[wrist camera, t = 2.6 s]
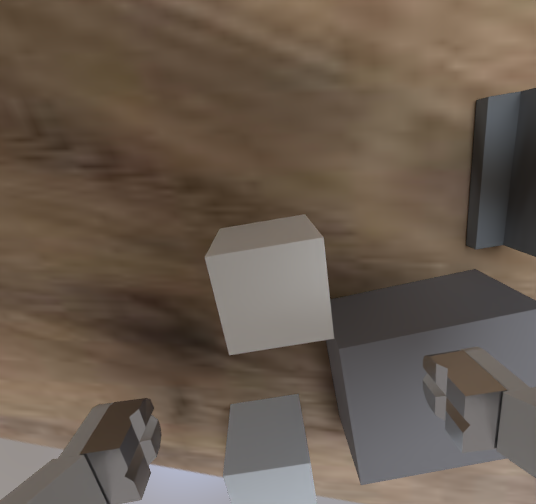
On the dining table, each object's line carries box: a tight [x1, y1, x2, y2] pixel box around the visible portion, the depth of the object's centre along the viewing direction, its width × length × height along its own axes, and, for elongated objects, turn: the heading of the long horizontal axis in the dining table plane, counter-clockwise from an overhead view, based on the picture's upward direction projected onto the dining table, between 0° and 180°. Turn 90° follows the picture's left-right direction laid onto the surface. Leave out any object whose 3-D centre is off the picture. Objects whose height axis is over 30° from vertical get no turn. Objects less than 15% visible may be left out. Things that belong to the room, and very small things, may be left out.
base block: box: [326, 269, 536, 485], centre depth 18 cm, size 10×10×5 cm
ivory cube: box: [205, 214, 334, 355], centre depth 15 cm, size 5×5×5 cm
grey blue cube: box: [223, 394, 317, 504], centre depth 19 cm, size 5×5×5 cm
